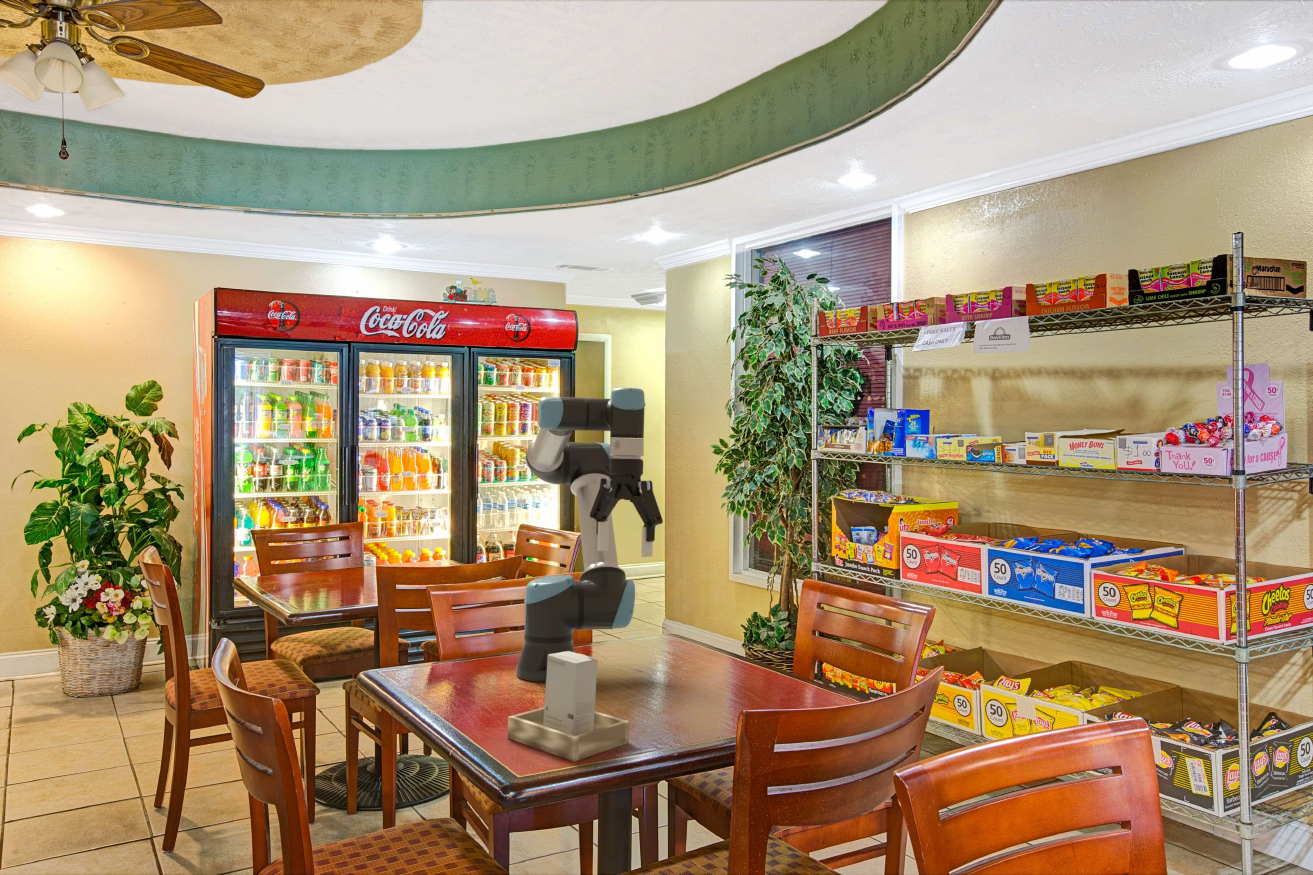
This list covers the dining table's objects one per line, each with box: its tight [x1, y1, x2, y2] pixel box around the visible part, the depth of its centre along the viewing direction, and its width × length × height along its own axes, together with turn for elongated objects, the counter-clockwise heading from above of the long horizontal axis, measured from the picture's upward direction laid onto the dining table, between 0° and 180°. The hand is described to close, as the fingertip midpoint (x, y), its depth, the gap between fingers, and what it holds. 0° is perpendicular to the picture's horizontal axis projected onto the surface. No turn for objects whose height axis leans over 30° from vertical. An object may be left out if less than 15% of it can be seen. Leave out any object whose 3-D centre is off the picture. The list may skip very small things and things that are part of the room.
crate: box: [507, 706, 630, 763], centre depth 166 cm, size 18×14×4 cm
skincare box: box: [543, 651, 599, 736], centre depth 166 cm, size 8×6×15 cm
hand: (624, 553), depth 198 cm, fingers open, 13 cm apart
